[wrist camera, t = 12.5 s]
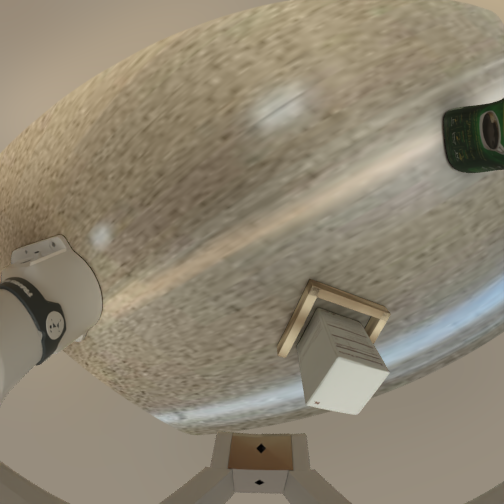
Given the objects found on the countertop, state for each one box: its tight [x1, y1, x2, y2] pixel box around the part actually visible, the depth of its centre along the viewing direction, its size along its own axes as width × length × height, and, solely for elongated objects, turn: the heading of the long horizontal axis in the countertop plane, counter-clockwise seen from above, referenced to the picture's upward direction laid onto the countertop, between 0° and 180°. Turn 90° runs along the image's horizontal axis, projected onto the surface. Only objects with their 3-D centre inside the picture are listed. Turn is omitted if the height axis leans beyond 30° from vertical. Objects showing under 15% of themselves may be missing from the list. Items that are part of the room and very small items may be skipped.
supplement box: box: [296, 308, 390, 415], centre depth 33 cm, size 7×7×13 cm
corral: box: [277, 279, 390, 358], centre depth 38 cm, size 11×12×2 cm
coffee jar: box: [444, 98, 504, 173], centre depth 22 cm, size 10×8×19 cm
